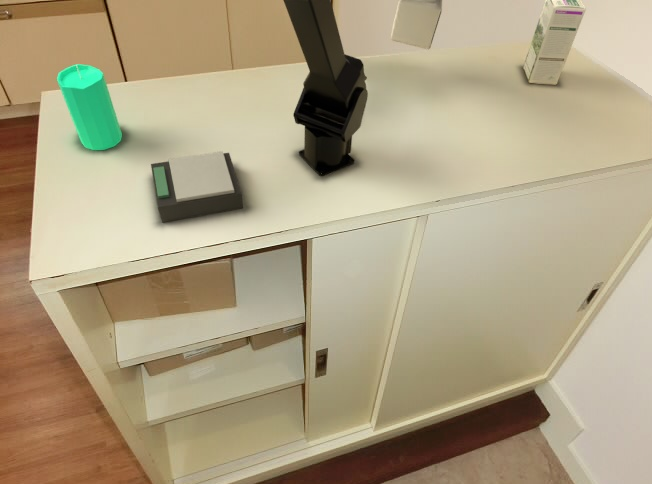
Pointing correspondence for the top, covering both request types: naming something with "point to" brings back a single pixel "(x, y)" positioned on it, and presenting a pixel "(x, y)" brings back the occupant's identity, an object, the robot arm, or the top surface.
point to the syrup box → (553, 40)
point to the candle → (90, 106)
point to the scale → (196, 186)
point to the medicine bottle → (416, 22)
